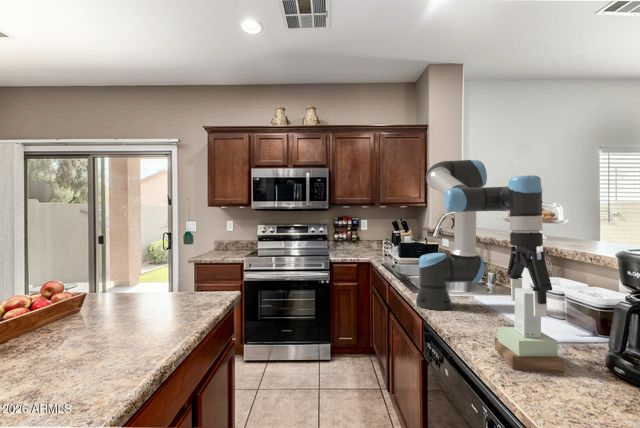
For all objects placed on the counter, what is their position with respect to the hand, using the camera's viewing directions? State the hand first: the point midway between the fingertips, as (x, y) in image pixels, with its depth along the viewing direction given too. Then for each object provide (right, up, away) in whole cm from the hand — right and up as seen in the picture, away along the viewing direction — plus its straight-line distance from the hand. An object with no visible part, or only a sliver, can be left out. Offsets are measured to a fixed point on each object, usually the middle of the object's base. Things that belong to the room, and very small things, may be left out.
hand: (527, 307), depth 84 cm
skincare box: (0, -7, 0) cm, 7 cm away
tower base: (0, -15, 0) cm, 15 cm away
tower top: (0, -11, 0) cm, 11 cm away
